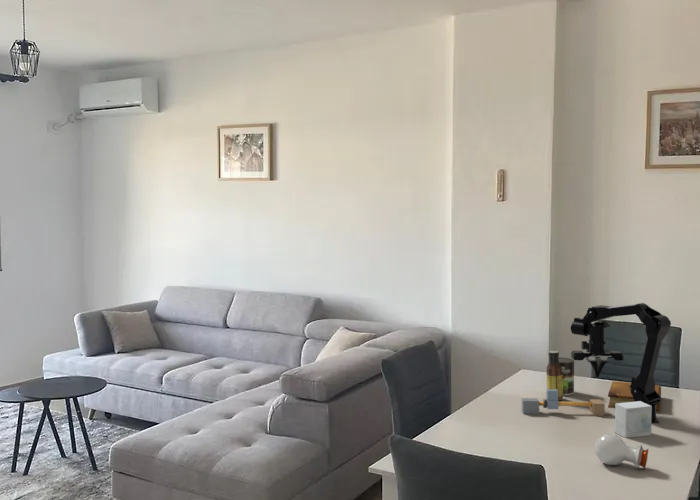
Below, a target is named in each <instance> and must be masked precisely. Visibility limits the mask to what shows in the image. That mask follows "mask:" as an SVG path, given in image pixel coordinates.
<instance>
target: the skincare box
mask: <svg viewBox="0 0 700 500" xmlns="http://www.w3.org/2000/svg"><path fill="white" fill-rule="evenodd" d="M651 416H652V406H650V405H648V404H646V403H643V402H641V401H636V402H626V403H616V404H615V408H614V431H613V432H614V434H616V435H618V436H620V437H621V436H622V437H623V438H636V437H645V436H651V435H652V422H651Z"/></svg>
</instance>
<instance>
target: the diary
mask: <svg viewBox="0 0 700 500" xmlns="http://www.w3.org/2000/svg"><path fill="white" fill-rule="evenodd" d="M630 386H631V381H630V382H627V381H617V380H613V381H612V382H611V384H610V388H609V391H608V394H607V398H609V401H608V405H607V407H608V408H610V409H615V404H616V403H626V402H635V401H634V398H633V396H632V394H631V388H629V387H630ZM655 391H656V392H657V393H658V394H659V396H660V397H661V398H662V386H661V385H660V384H655ZM661 401H662V400H661ZM661 401H660V403H656V413H660V412H661V404H662V403H661Z"/></svg>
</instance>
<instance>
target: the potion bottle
mask: <svg viewBox="0 0 700 500" xmlns="http://www.w3.org/2000/svg"><path fill="white" fill-rule="evenodd" d="M594 454H595V456H596V457H597V459H598V460H599V461H600V462H602V463H603V464H605V466H618V465H620V464H622V463H623V462H624V461H625V462H630V463H632V464H633V465H634V466H635V468H636V469H639V468H640V467H641V468H643V469H644V470H646V468H647V463H648V462H647V461H648V455H649V448H646V449H644V448H643V445H638V446H637V447H633V446H629V445H627V444H626V443H625V441H624V440H623V438H622V437H621V436H620V435H618V434H617V433H615V432H614V433H605V434H603V435H601V436H599V437H597V439H596V441H595V443H594Z"/></svg>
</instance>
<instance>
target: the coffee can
mask: <svg viewBox="0 0 700 500" xmlns="http://www.w3.org/2000/svg"><path fill="white" fill-rule="evenodd" d="M558 359H559V363H560V365H561V367H562V378H563V396H571V395H574V394H575V360H574V359H572V358H568V357H560V356H558Z"/></svg>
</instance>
